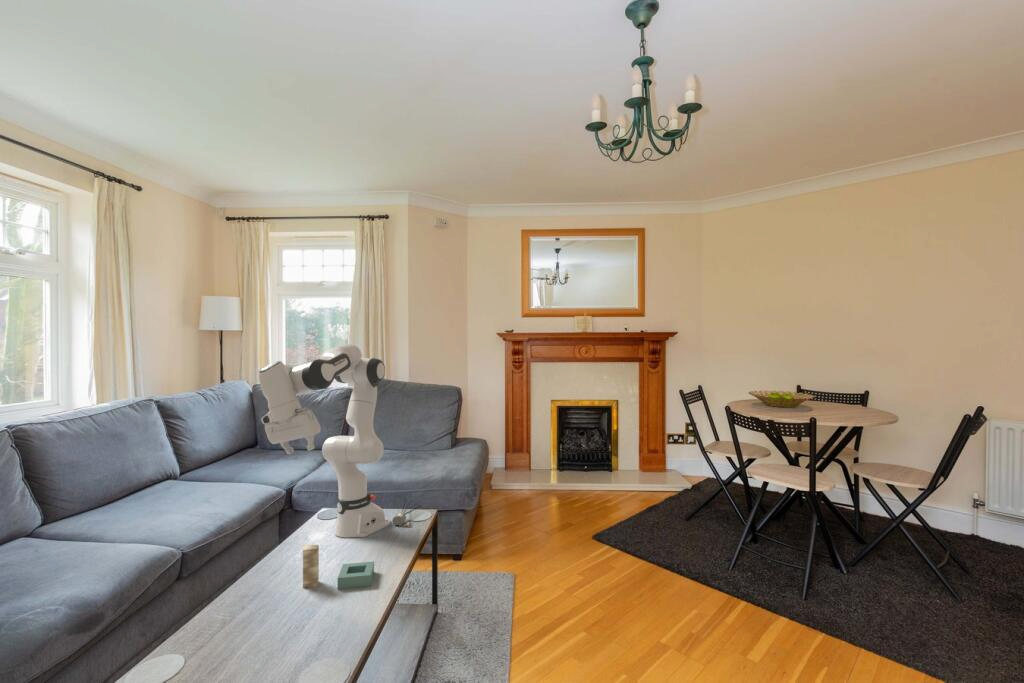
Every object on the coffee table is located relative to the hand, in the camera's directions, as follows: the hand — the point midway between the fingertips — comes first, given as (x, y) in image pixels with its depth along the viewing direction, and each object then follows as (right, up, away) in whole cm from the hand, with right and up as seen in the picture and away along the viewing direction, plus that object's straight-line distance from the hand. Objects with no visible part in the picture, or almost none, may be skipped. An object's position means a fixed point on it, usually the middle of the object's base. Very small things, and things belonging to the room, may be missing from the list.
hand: (301, 451), depth 144 cm
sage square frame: (+18, -42, +1) cm, 46 cm away
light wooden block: (+4, -42, -1) cm, 43 cm away
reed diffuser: (+22, -43, +53) cm, 72 cm away
